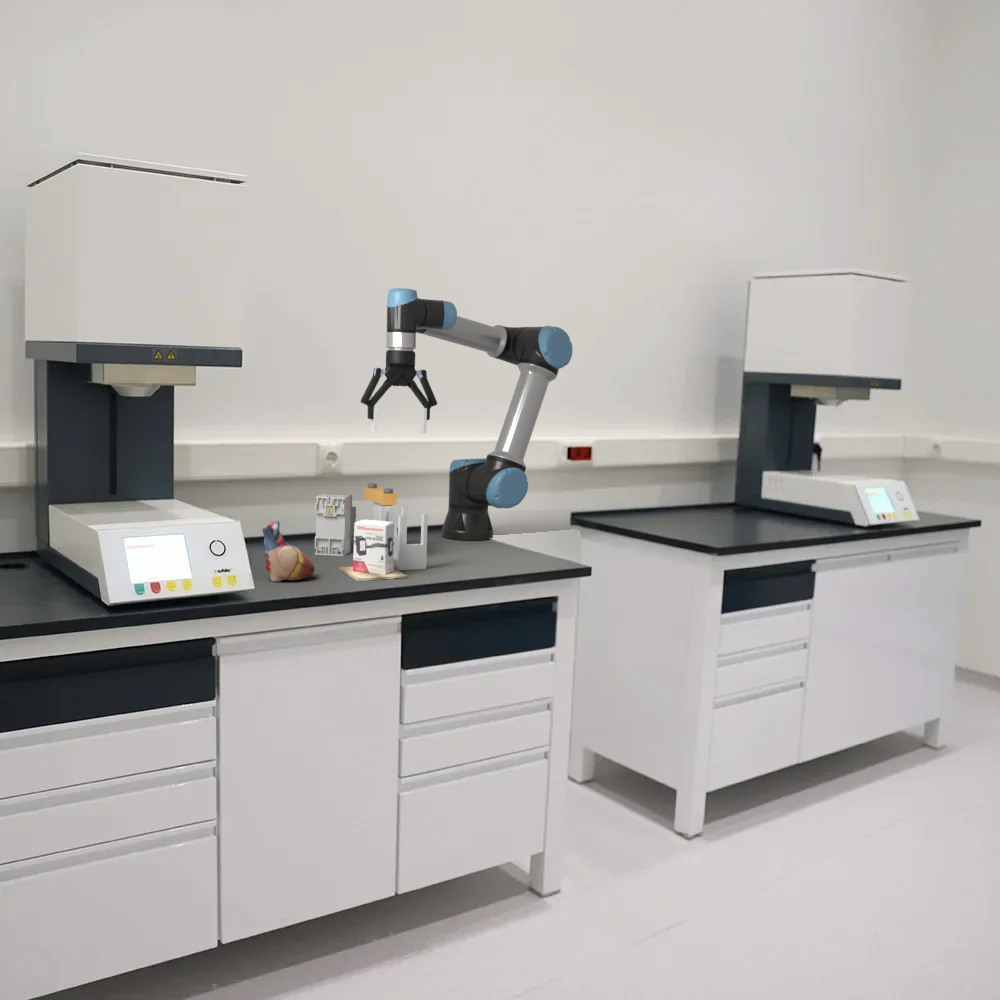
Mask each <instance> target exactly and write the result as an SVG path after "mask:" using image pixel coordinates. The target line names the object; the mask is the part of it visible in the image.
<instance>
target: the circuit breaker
mask: <svg viewBox="0 0 1000 1000" xmlns="http://www.w3.org/2000/svg"><path fill="white" fill-rule="evenodd" d="M315 499H316V502H315V503H314V504H315V506H314V510H315V511H314V512H315V514H316V515H315V517H316V519H315V536H314V549H315V552H314V555H319V556H334V557H335V556H336V557H344V556H346V555H347V554H349V553H350V552H351V551H352V537H354V523H355V522H357V520H356V519H357V514H356V513H357V507H356V506H353V494H347V493H330V492H329V493H328V492H327V493H325V492H323V493H321V494H318V495H317V496H315Z"/></svg>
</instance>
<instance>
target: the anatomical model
mask: <svg viewBox="0 0 1000 1000" xmlns="http://www.w3.org/2000/svg"><path fill="white" fill-rule="evenodd" d="M262 533H263V538H264V540H263V546H264V548H265V552H264V558H265V569H266V571H267V573H268V575H269V578H270V581H271V582H273V583H280V582H282V581H301V580H305V579H308V578H309V577H311V576H312V575H313V574H314V572H315V565H314V562H313V561H312V559H311V558H310V557H308V556H307V555H306V554H305V553H303V552H302V551H301V550H300V549H299V548H298V547H296V546H295V545H291V544H289V543H288V542H286V541H285V538H284V537H283V534H282V533H281V532H280V521H278V520H273V521H271V522H270V524H266V525H264V526H263V528H262Z"/></svg>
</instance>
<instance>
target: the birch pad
mask: <svg viewBox="0 0 1000 1000" xmlns="http://www.w3.org/2000/svg"><path fill="white" fill-rule="evenodd" d="M338 570H339V571H341V572H342V573H344V574H345V575H347V576H348V577H350V578H351V579H353V580H355V581H357V582H365V581H366V582H368V581H370V580H371V581H383V580H382V579H388V580H395V579H394V578H405V579H408V574H405V573H403V572H401V570H398V569H397V568H396V569H395V568H394V567H393V571H392V572H390V573H387V574H385V575H384V574H375V573H366V572H357V571H353V565H352V566H339V567H338Z"/></svg>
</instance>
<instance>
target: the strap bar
mask: <svg viewBox="0 0 1000 1000" xmlns="http://www.w3.org/2000/svg"><path fill="white" fill-rule="evenodd" d="M377 485H378V484H377V483H375V482H367V486H364V487H363V498H364V499H366V500H368V501H371V502H372V503H373V502H376V503H378V504H381V505H393V506H397V504H398V503H397V501H398V498H397V497H398V496H397V495H398V494H397V492H394V488H383V487H379V486H377Z"/></svg>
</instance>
